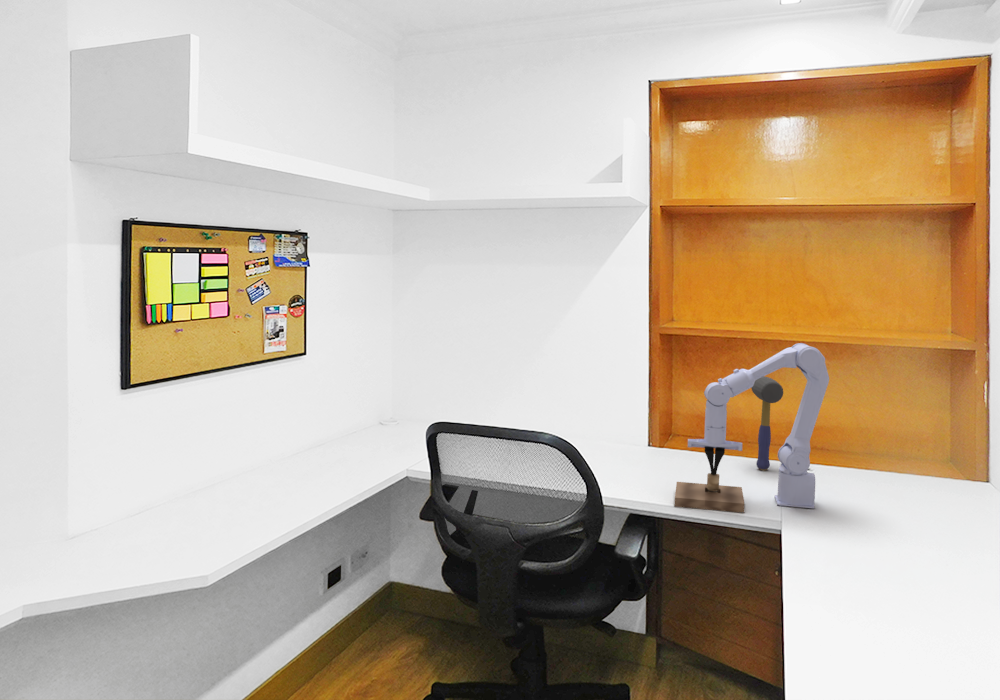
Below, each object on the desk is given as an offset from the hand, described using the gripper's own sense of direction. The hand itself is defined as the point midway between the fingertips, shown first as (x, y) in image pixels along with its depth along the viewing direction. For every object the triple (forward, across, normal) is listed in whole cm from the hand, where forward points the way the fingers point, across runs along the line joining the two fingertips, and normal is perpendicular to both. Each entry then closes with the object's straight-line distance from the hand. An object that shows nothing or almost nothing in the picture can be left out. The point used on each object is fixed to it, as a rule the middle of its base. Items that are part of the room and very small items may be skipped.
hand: (713, 473), depth 201 cm
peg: (+7, 0, 0) cm, 7 cm away
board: (+7, +1, +2) cm, 8 cm away
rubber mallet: (+8, -16, -35) cm, 39 cm away
